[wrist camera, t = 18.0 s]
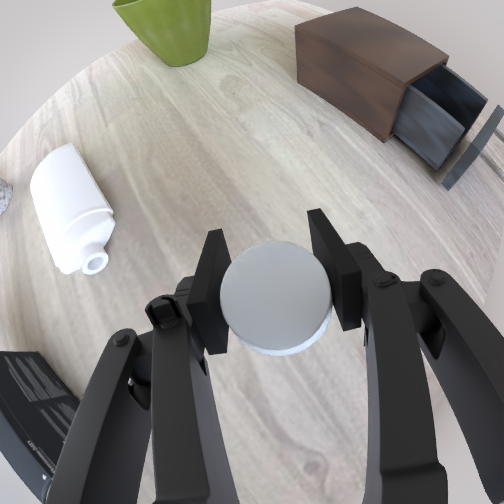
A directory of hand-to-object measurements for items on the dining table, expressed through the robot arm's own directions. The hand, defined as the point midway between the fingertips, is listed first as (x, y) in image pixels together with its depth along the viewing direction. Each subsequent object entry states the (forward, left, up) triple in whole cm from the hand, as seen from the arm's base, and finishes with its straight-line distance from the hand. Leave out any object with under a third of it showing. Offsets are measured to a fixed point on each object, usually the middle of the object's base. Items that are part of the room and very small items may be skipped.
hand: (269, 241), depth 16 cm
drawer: (-2, -26, -10) cm, 28 cm away
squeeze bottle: (+23, +14, -11) cm, 29 cm away
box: (+3, +30, -11) cm, 32 cm away
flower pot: (+39, -14, -11) cm, 43 cm away
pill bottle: (-3, +2, -3) cm, 5 cm away
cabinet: (+11, -26, -11) cm, 30 cm away
